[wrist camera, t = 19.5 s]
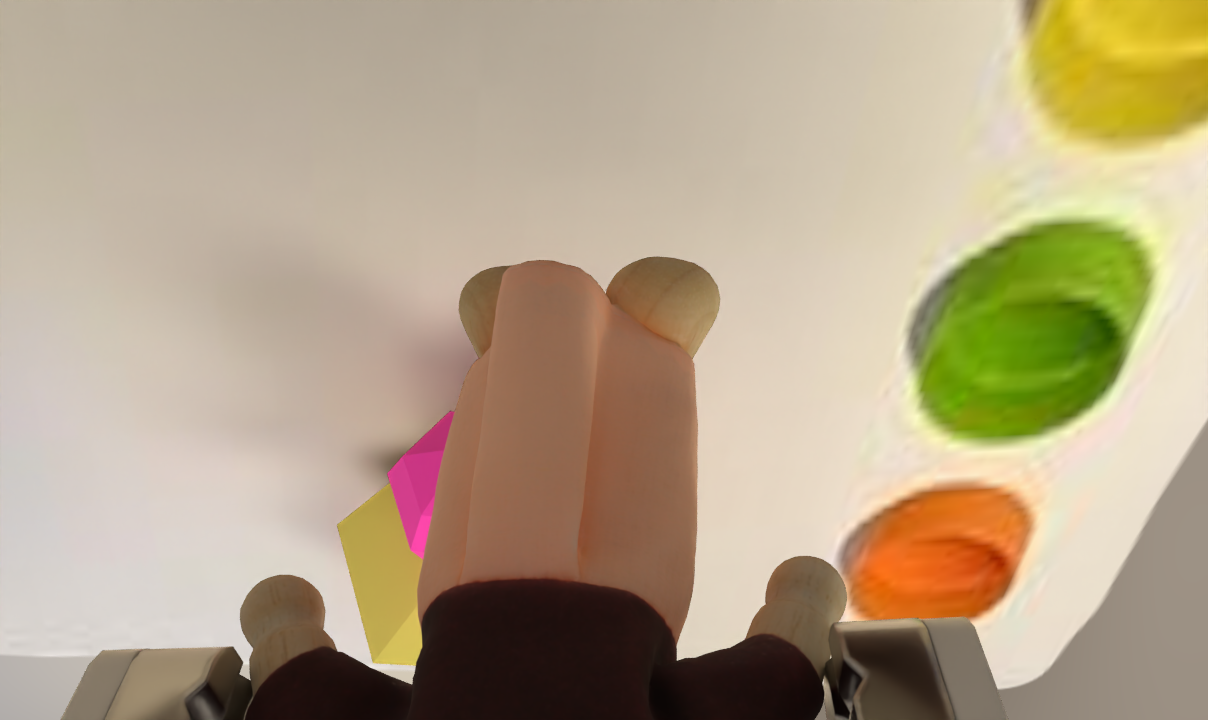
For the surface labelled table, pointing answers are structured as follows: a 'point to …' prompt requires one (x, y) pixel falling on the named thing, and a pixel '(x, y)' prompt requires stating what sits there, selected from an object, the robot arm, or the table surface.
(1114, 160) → the table surface
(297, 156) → the table surface
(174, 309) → the table surface
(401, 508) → the toy
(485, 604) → the grandmother figurine
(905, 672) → the robot arm
